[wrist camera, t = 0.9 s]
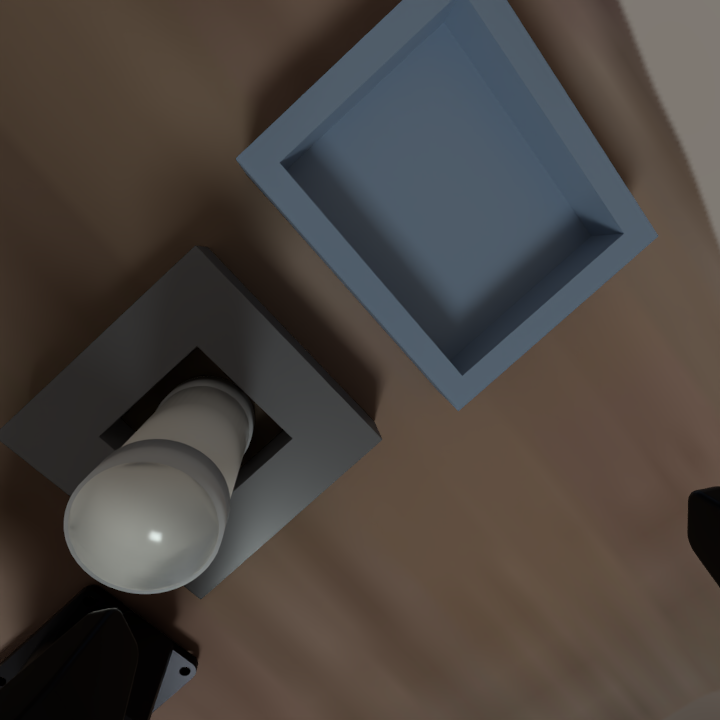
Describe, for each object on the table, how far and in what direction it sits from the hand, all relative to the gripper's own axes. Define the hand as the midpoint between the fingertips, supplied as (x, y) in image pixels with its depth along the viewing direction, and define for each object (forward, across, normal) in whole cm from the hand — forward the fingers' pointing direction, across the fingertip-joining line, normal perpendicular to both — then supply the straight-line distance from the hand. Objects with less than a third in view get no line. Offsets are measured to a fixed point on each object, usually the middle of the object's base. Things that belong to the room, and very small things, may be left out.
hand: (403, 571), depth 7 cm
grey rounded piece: (+12, +7, +2) cm, 14 cm away
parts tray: (+14, -4, -5) cm, 15 cm away
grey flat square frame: (+12, +7, +2) cm, 14 cm away
